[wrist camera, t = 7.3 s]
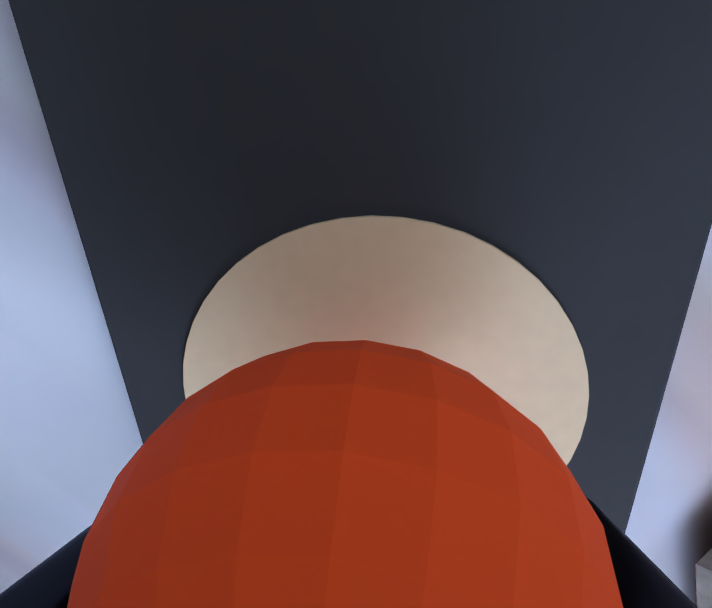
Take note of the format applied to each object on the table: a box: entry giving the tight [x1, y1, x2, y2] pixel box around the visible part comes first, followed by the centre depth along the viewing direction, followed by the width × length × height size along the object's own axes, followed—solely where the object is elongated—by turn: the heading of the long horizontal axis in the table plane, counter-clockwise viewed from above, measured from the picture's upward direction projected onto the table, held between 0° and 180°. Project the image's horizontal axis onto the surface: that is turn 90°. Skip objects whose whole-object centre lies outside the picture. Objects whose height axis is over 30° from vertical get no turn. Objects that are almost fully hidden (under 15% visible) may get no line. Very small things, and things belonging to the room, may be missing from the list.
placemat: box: [9, 0, 712, 534], centre depth 11 cm, size 12×20×1 cm, turn 3°
